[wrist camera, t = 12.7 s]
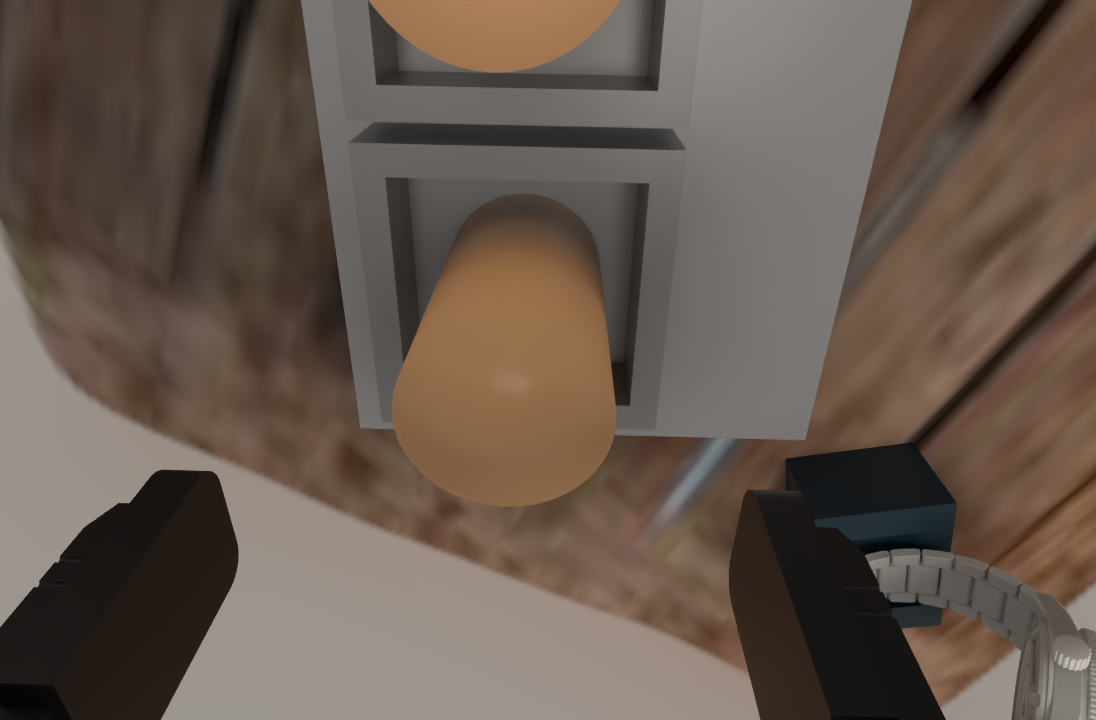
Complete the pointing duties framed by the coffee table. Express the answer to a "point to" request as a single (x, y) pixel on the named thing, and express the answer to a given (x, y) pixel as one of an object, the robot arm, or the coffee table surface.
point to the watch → (947, 571)
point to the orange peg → (511, 360)
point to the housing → (615, 178)
